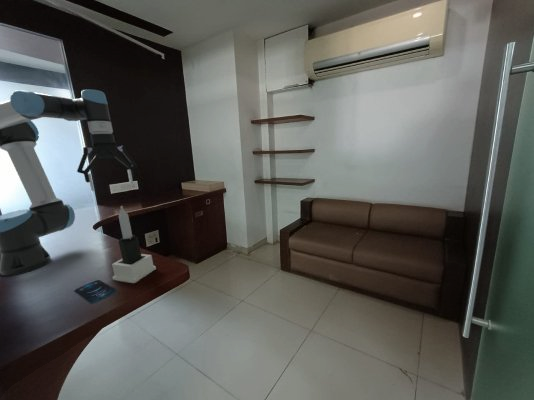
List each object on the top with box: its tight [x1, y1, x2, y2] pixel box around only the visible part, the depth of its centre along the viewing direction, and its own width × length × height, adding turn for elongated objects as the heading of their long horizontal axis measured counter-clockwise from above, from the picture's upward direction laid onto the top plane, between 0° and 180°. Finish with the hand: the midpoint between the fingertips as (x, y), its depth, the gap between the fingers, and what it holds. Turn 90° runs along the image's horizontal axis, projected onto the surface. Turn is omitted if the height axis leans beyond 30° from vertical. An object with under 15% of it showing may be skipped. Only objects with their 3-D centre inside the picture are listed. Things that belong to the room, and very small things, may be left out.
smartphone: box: [74, 279, 118, 305], centre depth 78 cm, size 8×1×15 cm
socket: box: [111, 253, 157, 284], centre depth 86 cm, size 10×10×6 cm
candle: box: [118, 205, 142, 265], centre depth 84 cm, size 5×5×25 cm
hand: (113, 187), depth 95 cm, fingers open, 13 cm apart
